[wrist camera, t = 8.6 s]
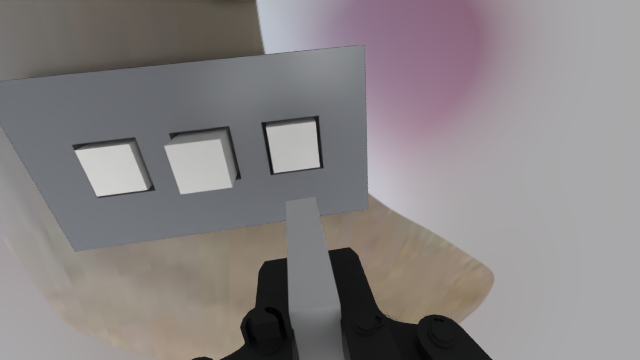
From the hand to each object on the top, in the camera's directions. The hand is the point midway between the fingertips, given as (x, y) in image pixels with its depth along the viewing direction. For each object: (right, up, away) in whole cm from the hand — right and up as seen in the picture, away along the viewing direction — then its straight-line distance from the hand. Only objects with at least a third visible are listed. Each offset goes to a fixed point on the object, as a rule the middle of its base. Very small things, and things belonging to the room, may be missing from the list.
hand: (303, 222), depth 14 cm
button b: (-10, +5, +13) cm, 17 cm away
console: (-10, +6, +16) cm, 20 cm away
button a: (-18, +5, +14) cm, 23 cm away
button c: (-2, +7, +15) cm, 17 cm away
